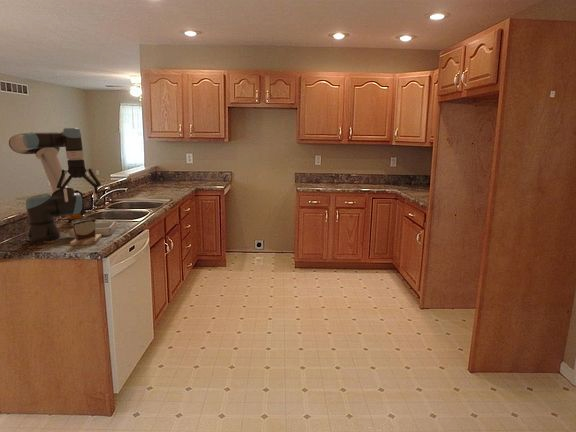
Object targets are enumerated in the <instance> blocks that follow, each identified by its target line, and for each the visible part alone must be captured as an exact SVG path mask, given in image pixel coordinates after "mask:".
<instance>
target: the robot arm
mask: <svg viewBox="0 0 576 432" xmlns="http://www.w3.org/2000/svg"><path fill="white" fill-rule="evenodd" d="M8 146H9V148H10V149H11V150H12V151H14V153H17V154H20V155H21V154H22V155H34V156H35V157H36V159H38V160H40V162H41V164H42V167H43V169H44V172H45V174H46V175H45V176H46V177H47V180H48V182H49V185H50V188H51V190H52V193H51V194H50V193H41V194H37V195H33V196H30V197H28V198H26V199H25V209H26V213H27V218H28V219H27V220H28V224H29V226H28V232H27V237H26V238H27V241H28V242H29V241H30V242H31V243H38V242H39V243H40V242H41V243H42V242H49V241H54V240H56V239H59V238H60V237H61V232H60V230H59V228H58V226H57V224H56V223H55V218H56V217H57V218H58V217H59V218H61V217H65V216H66V217H67V215H73V214H77V213H80V212H81V210H82V198H83V197H82V198H81V195H80V194H79V193H75V191H76V190H75V189H74V188H73V187H70V185H69V183H70V182H71V180H72V179H77V178H79V179H81V178H83V180H85V181H87V182H88V183H89V184H90V185H91V186H92V196H93V201H94V202H95V201H97V199H98V198H97V194H98V193H99V190H98V189H99V188H98V187H100V186H102V184H101V181H99V179H98V178H97V176H96V175H95V172H94V171H93V168H92V167H89V168H86V166H85V165H86V163H85V159H84V158H85V157H84V150H83V142H82V133H81V130H80V128H79V127H64V128H63V129H62V131H59V132H58V131H56V132H55V131H54V132H53V131H51V132H47V131H46V132H24V133H18V134H14V135H12V136H11V137H10V138H9V140H8ZM60 148H65V153H66V154H65V155H66V159H67V161H66V162H67V168H68V169H65V168H64V169H63V167H62V165H61V163H60V160H59V158H58V157H59V156H58V154H59V151H60V150H61V149H60ZM67 173H68V174H69V176H68V177H66V175H67ZM86 173H88V174H89V175H90V177H91V178H92V179H91V178H90V177H89V176H88V175H87V174H86ZM74 190H75V191H74Z"/></svg>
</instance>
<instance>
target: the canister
mask: <svg viewBox="0 0 576 432" xmlns="http://www.w3.org/2000/svg"><path fill="white" fill-rule="evenodd" d="M74 191H75V193H79V194H80V195H81V198H82V210H81V212H80V213H77V214H73V215H66V217H67V221H68V222H71V223H72V221H73V220H76V219H81V218H84V215H85V214H86V212H85V209H84V208H85V207H84V200H83V195H84V193H83V192H81V191H79V190H77V189H76V190H75V189H74Z"/></svg>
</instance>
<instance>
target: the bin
mask: <svg viewBox="0 0 576 432" xmlns="http://www.w3.org/2000/svg"><path fill="white" fill-rule="evenodd" d="M116 229H117V221H101V222H95V234H100V233H102V235H103V236H112V234H113V233H114V232H115V231H116ZM68 232H69V233H68V234H69V237H70V239H74V238H75V237H76V236H75V232H74V228H73V227H72V228H71V229H69V230H68Z"/></svg>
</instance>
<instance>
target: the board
mask: <svg viewBox="0 0 576 432" xmlns="http://www.w3.org/2000/svg"><path fill="white" fill-rule="evenodd" d="M102 237H103V236H102V233H100V234H96V237H93V238H89V239H84V240H80V241H77V240H76V237H75V238H72V240H71V241H70V242H69V245H70V246H71V247H72V246H81V245H93V244H97V243H98V242H99V240H100V239H101V238H102Z"/></svg>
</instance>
